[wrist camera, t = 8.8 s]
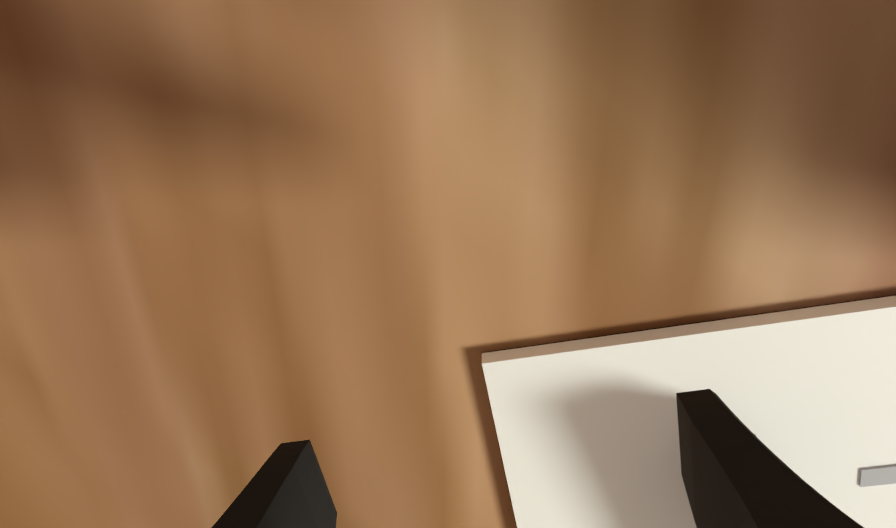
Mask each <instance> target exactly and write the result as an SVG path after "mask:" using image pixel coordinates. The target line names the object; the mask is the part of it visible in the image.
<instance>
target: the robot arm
mask: <svg viewBox="0 0 896 528" xmlns="http://www.w3.org/2000/svg"><path fill="white" fill-rule="evenodd" d="M676 399H677V414H678V429H679V444H680V459H681V474H682V478H683V482H684V485H685V489H686V493H687V496H688V500H689V503H690V507H691V510H692V514H693V517H694V521H695V524H696V527H697V528H864V527H863V526H861V525H860V524H858V523H857V522H856V521H854V520H853V519H852V518H850V517H849V516H848V515H846V514H845V513H844V512H842V511H841V510H840V509H838V508H837V507H836V506H835V505H833V504H832V503H831V502H829V501H828V500H827V499H826V498H824V497H823V496H822V495H821V494H820V493H818V492H817V491H816V490H815V489H814V488H812V487H811V486H810V485H809V484H808V483H806V482H805V481H804V480H803V479H802V478H801V477H799V476H798V475H797V474H796V473H795V472H794V471H793V470H791V469H790V468H789V467H788V466H787V465H786V464H785V463H784V462H783V461H782V460H781V459H779V458H778V457H777V456H776V455H775V454H774V453H773V452H772V451H771V450H770V449H769V448H768V447H767V446H765V445H764V444H763V443H762V442H761V441H760V440H759V439H758V438H757V437H756V436H755V435H754V434H753V433H752V432H751V431H750V430H749V429H748V428H747V427H746V426H745V425H744V424H743V423H742V422H741V420H740V419H739V418H738V417H737V416H736V415H735V414H734V413H733V412H732V411H731V410H730V409H729V408H728V407H727V405H726V404H725V403H724V402H723V401H722V400H721V399H720V398H719V396H718V395H717V394H716V393H715V392H713V391H712V390H711V389H704V390H696V391H689V392H681V393H676ZM336 518H337V512H336V509H335V506H334V504H333V501H332V498H331V496H330V493H329V490H328V488H327V485H326V482H325V480H324V477H323V474H322V472H321V469H320V466H319V463H318V461H317V458H316V455H315V453H314V450H313V447H312V445H311V442H310V440H305V441H297V442H289V443H281V444H280V445H279V446H278V448H277V449H276V450H275V451H274V452H273V454H272V455H271V456H270V457H269V458H268V460H267V461H266V462H265V463H264V465H263V466H262V467H261V468H260V470H259V471H258V472H257V473H256V475H255V476H254V477H253V478H252V480H251V481H250V482H249V483H248V485H247V486H246V487H245V488H244V490H243V491H242V492H241V493H240V494H239V496H238V497H237V498H236V499H235V500H234V502H233V503H232V504H231V505H230V506H229V508H228V509H227V510H226V511H225V513H224V514H223V515H222V516H221V517H220V519H219V520H218V521H217V522H216V523H215V524H214V525H213V527H212V528H336Z"/></svg>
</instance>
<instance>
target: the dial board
mask: <svg viewBox="0 0 896 528" xmlns="http://www.w3.org/2000/svg"><path fill="white" fill-rule="evenodd" d="M482 367H483V372H484V376H485V381H486V386H487V390H488V395H489V400H490V404H491V409H492V413H493V418H494V423H495V427H496V432H497V437H498V441H499V446H500V450H501V455H502V460H503V464H504V469H505V474H506V478H507V483H508V487H509V492H510V497H511V501H512V506H513V511H514V515H515V520H516V524H517V528H697V527H696V524H695V521H694V517H693V514H692V510H691V507H690V503H689V500H688V496H687V493H686V489H685V485H684V482H683V478H682V474H681V459H680V444H679V429H678V414H677V399H676V393H681V392H689V391H696V390H704V389H711V390H712V391H713V392H715V393H716V394H717V395H718V396H719V398H720V399H721V400H722V401H723V402H724V403H725V404H726V405H727V407H728V408H729V409H730V410H731V411H732V412H733V413H734V414H735V415H736V416H737V417H738V418H739V419H740V420H741V422H742V423H743V424H744V425H745V426H746V427H747V428H748V429H749V430H750V431H751V432H752V433H753V434H755V435H756V437H757V438H758V439H759V440H760V441H761V442H762V443H763V444H764V445H765V446H767V447H768V448H769V449H770V450H771V451H772V452H773V453H774V454H775V455H776V456H777V457H778V458H779V459H781V460H782V461H783V462H784V463H785V464H786V465H787V466H788V467H789V468H790V469H791V470H793V471H794V472H795V473H796V474H797V475H798V476H799V477H801V478H802V479H803V480H804V481H805V482H806V483H808V484H809V485H810V486H811V487H812V488H814V489H815V490H816V491H817V492H818V493H820V494H821V495H822V496H823V497H824V498H826V499H827V500H828V501H829V502H831V503H832V504H833V505H835V506H836V507H837V508H838V509H840V510H841V511H842V512H844V513H845V514H846V515H848V516H849V517H850V518H852V519H853V520H854V521H856V522H857V523H858V524H860V525H861V526H863V527H864V528H896V296H889V297H882V298H875V299H867V300H860V301H853V302H846V303H839V304H832V305H824V306H817V307H810V308H803V309H796V310H789V311H781V312H774V313H767V314H760V315H753V316H746V317H738V318H731V319H724V320H717V321H710V322H703V323H695V324H688V325H681V326H674V327H667V328H660V329H652V330H645V331H638V332H631V333H624V334H617V335H609V336H602V337H595V338H588V339H581V340H574V341H566V342H559V343H552V344H545V345H538V346H531V347H523V348H516V349H509V350H502V351H495V352H488V353H482Z"/></svg>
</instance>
